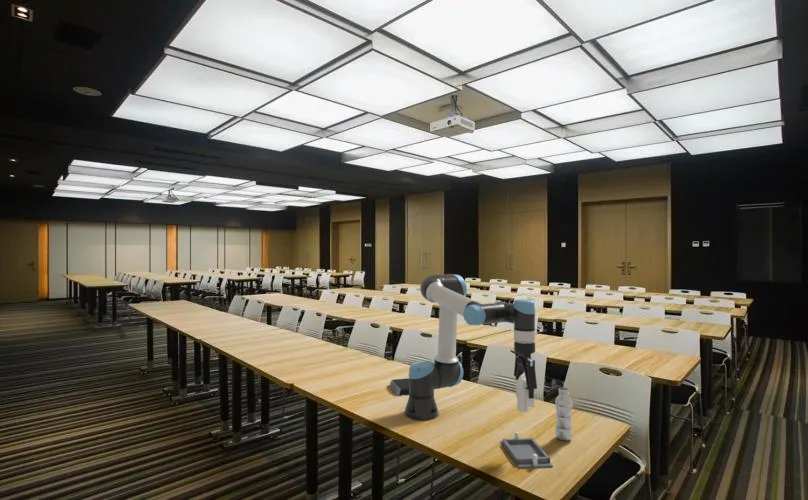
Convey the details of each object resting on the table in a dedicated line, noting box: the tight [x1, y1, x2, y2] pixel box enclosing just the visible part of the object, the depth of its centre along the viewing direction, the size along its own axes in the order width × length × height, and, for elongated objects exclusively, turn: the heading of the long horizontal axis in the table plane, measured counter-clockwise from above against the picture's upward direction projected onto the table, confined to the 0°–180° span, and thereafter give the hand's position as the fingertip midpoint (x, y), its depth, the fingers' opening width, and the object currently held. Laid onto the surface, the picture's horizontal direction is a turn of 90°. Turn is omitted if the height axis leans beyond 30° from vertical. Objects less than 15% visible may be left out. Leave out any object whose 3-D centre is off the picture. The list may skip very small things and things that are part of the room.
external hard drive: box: [389, 377, 409, 397], centre depth 226 cm, size 13×19×4 cm
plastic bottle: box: [554, 387, 574, 441], centre depth 165 cm, size 6×7×20 cm
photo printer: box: [516, 373, 532, 413], centre depth 152 cm, size 10×4×12 cm, turn 151°
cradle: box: [500, 431, 553, 469], centre depth 152 cm, size 12×20×4 cm, turn 4°
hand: (524, 401), depth 152 cm, fingers closed on photo printer, 10 cm apart
